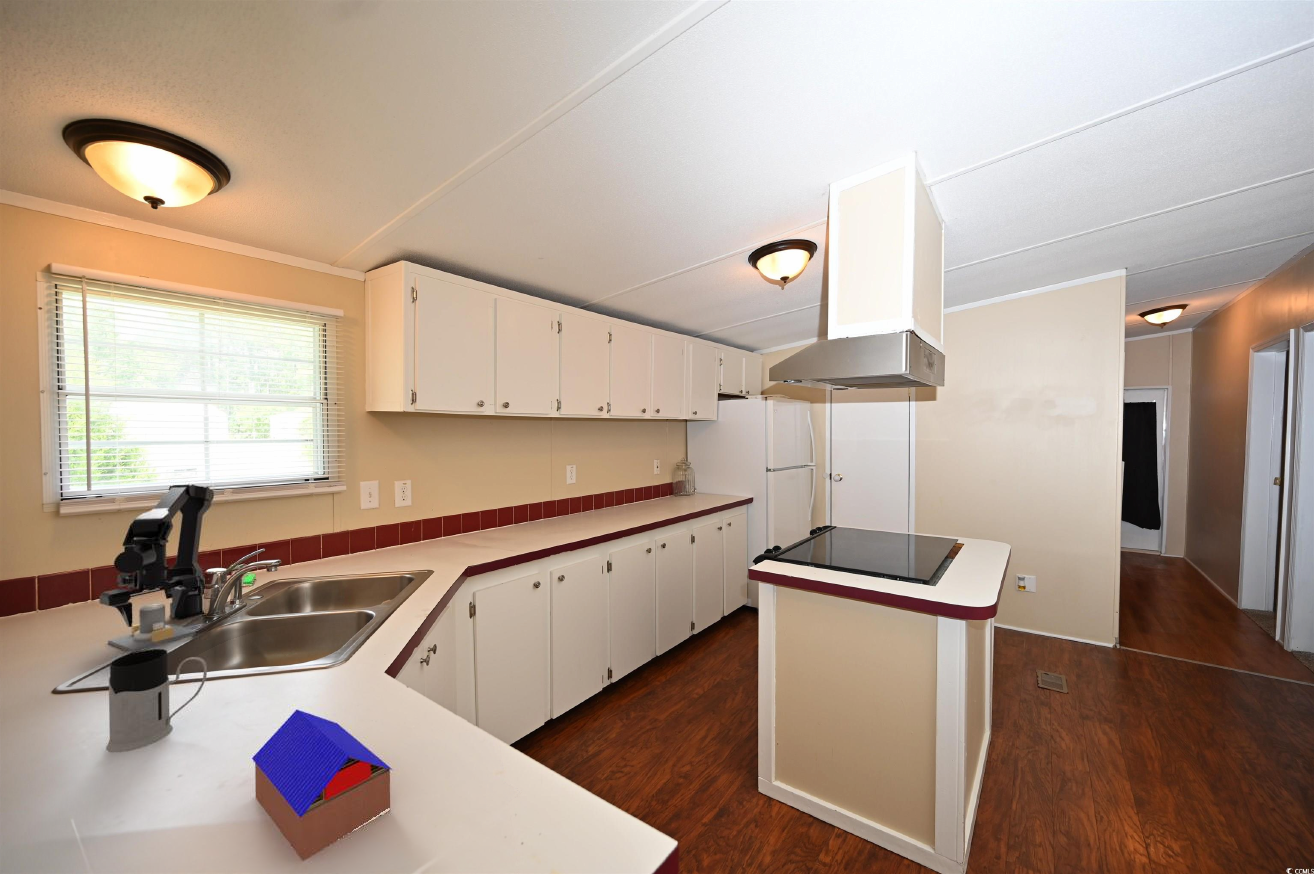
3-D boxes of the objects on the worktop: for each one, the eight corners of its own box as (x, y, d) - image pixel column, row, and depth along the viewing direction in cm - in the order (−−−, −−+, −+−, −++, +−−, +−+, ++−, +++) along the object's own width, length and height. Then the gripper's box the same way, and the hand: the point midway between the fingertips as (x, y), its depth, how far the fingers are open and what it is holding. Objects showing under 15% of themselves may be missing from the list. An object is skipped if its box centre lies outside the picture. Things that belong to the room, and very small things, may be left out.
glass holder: (123, 730, 98) (122, 651, 97) (216, 715, 103) (215, 640, 103) (93, 757, 90) (92, 672, 89) (196, 739, 95) (195, 658, 95)
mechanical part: (251, 586, 186) (251, 564, 186) (230, 589, 183) (230, 567, 183) (256, 578, 197) (255, 557, 197) (236, 580, 194) (235, 559, 193)
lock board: (170, 626, 148) (170, 614, 148) (195, 634, 143) (195, 621, 143) (108, 644, 136) (107, 631, 136) (132, 653, 131) (132, 639, 131)
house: (337, 761, 89) (336, 694, 89) (393, 813, 77) (393, 736, 77) (252, 800, 80) (251, 726, 80) (300, 868, 68) (300, 780, 67)
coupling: (171, 628, 140) (171, 605, 140) (147, 635, 136) (146, 611, 136) (157, 624, 143) (157, 601, 143) (133, 631, 139) (133, 607, 139)
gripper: (179, 552, 151) (179, 605, 151) (89, 568, 134) (90, 628, 134) (200, 556, 146) (200, 611, 147) (109, 573, 129) (110, 635, 130)
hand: (152, 620), depth 140 cm, fingers open, 9 cm apart
